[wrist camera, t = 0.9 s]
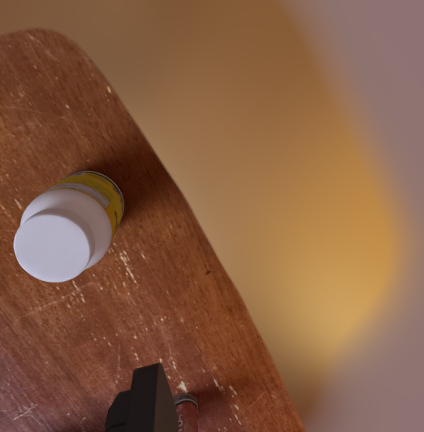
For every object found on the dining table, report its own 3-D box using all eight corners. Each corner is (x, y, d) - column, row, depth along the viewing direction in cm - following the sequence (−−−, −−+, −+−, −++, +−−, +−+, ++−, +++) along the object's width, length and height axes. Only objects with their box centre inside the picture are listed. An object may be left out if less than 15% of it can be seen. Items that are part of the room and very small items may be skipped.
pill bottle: (103, 246, 34) (71, 309, 24) (43, 210, 33) (-20, 262, 22) (138, 194, 33) (121, 237, 22) (78, 155, 31) (30, 182, 21)
